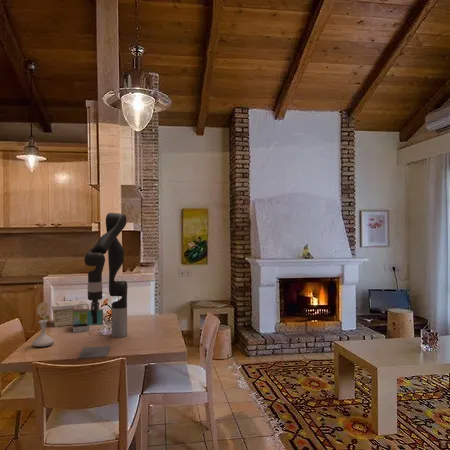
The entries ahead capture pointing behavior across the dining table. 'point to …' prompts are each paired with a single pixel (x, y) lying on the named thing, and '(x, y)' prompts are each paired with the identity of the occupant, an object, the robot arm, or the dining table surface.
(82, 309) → the tea box
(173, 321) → the dining table surface
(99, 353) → the mat
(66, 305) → the storage basket
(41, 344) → the flower in vase
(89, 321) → the tile
